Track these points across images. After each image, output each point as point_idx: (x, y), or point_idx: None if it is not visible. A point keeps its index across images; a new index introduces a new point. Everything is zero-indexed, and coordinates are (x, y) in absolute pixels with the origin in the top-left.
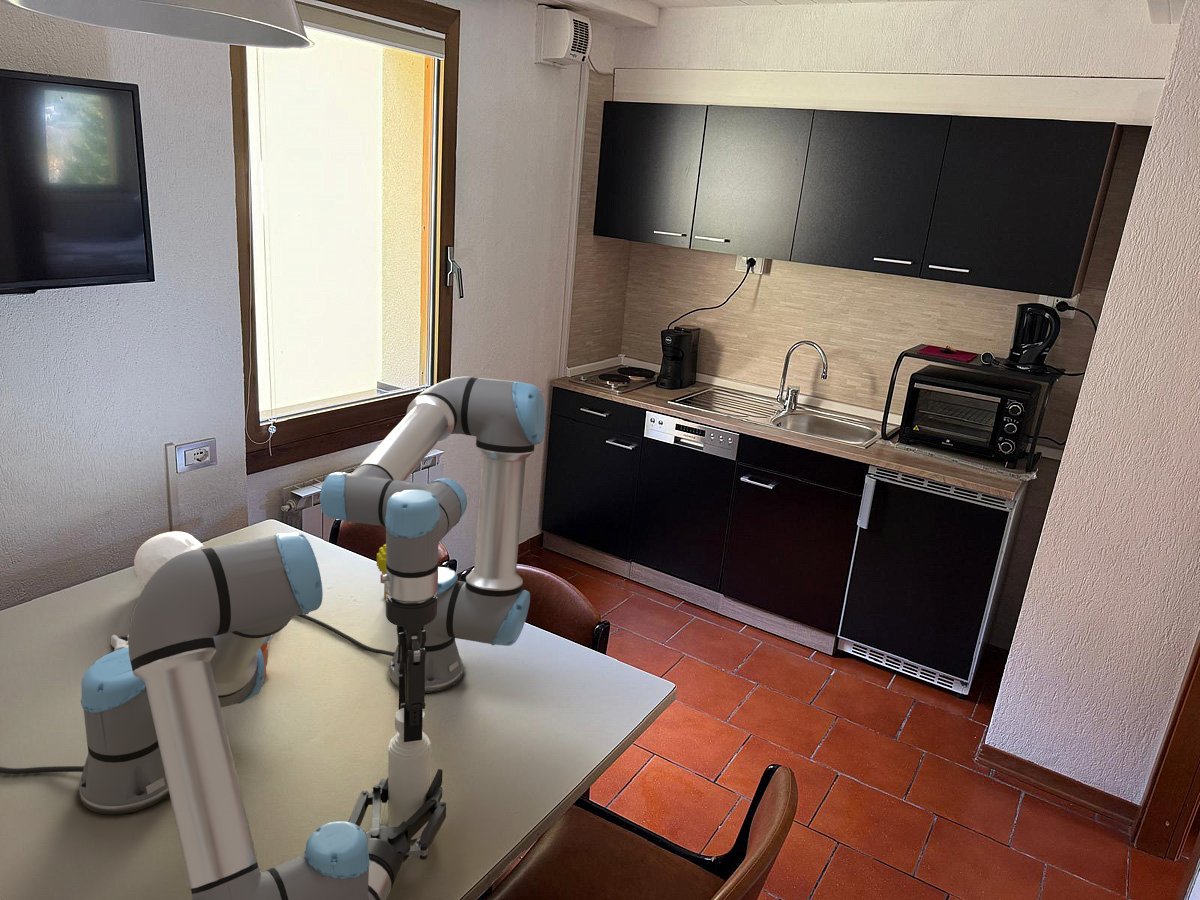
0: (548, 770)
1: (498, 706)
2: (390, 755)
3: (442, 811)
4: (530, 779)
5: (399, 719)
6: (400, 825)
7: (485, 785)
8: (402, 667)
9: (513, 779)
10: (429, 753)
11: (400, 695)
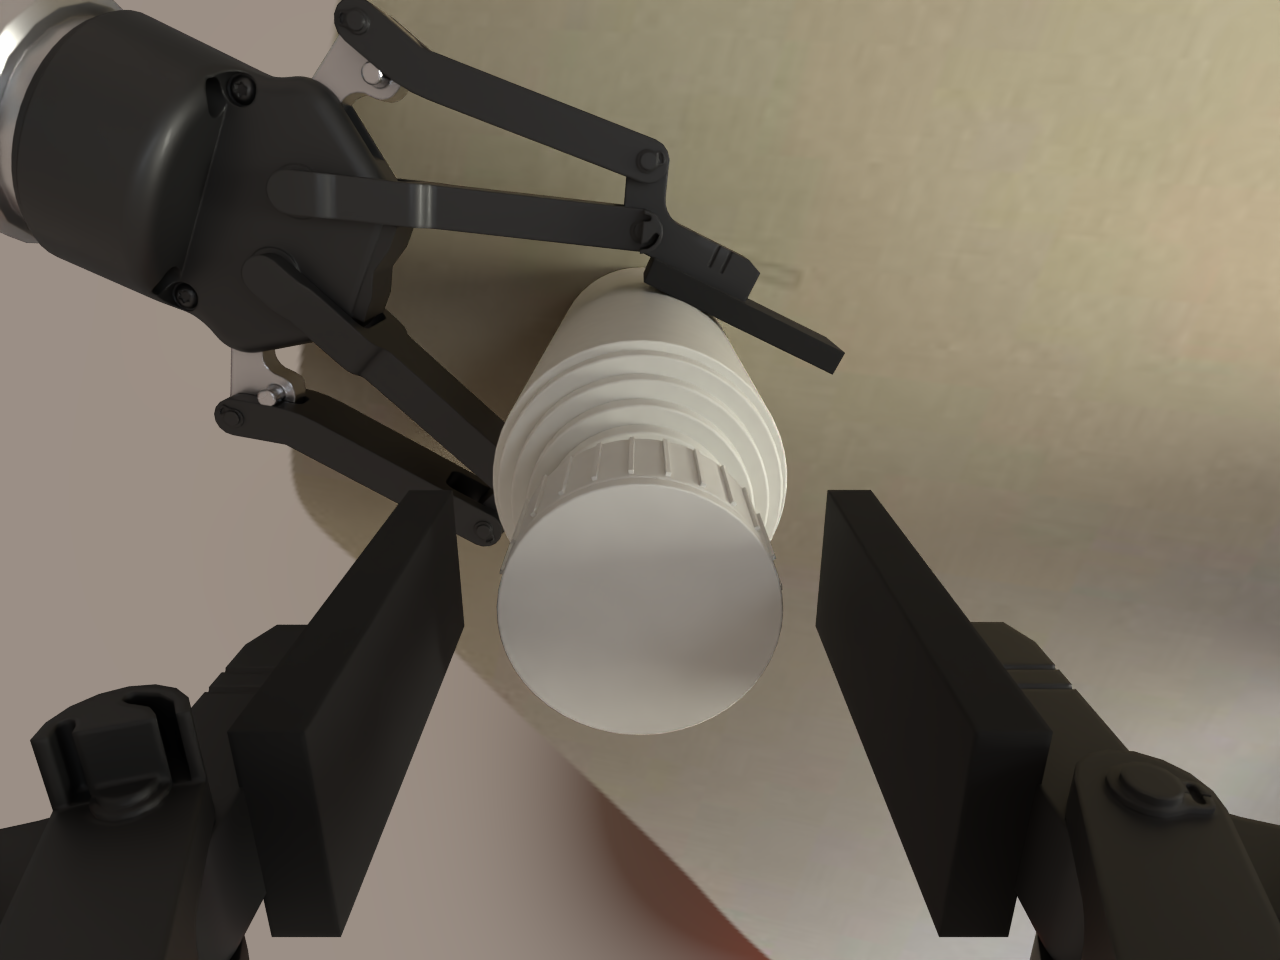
0: (796, 847)
1: (1230, 775)
2: (588, 344)
3: None
4: (769, 789)
5: (573, 515)
6: (343, 326)
7: (785, 650)
8: (1092, 947)
9: (787, 740)
10: None
11: (886, 599)
